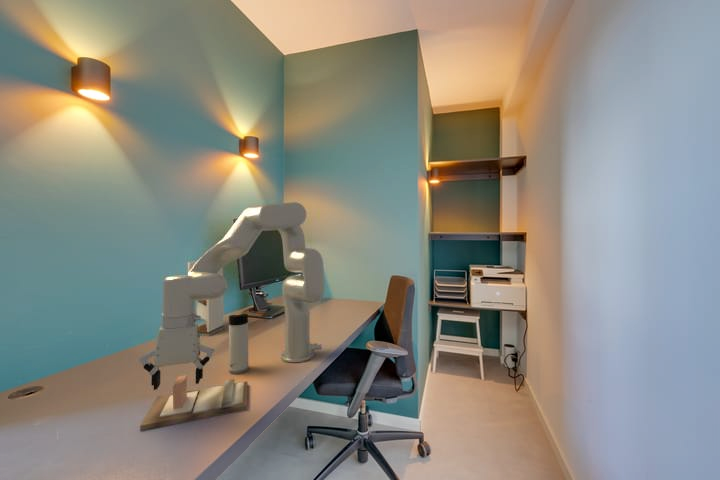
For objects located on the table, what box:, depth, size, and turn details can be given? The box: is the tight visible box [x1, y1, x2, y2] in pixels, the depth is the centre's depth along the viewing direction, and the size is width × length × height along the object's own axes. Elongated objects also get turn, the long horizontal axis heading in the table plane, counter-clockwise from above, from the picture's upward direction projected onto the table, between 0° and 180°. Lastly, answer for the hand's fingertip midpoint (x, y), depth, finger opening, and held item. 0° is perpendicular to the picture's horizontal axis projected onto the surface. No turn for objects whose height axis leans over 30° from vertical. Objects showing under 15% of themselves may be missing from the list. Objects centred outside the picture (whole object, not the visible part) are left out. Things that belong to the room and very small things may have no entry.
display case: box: [187, 260, 224, 337], centre depth 144 cm, size 11×11×35 cm
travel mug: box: [228, 313, 249, 375], centre depth 102 cm, size 6×7×20 cm
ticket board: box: [139, 378, 249, 431], centre depth 81 cm, size 24×14×3 cm, turn 110°
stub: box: [160, 374, 198, 417], centre depth 79 cm, size 7×10×6 cm
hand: (177, 384), depth 79 cm, fingers open, 9 cm apart
